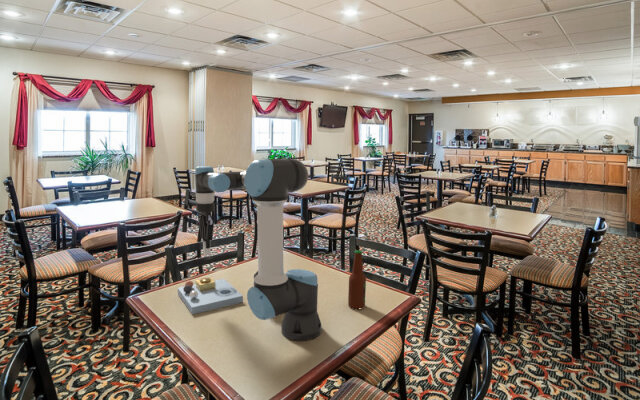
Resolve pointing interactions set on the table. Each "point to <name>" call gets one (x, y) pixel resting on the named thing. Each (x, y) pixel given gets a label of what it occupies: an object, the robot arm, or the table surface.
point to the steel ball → (193, 295)
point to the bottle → (357, 283)
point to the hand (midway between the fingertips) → (207, 254)
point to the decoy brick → (189, 283)
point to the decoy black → (187, 289)
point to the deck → (211, 297)
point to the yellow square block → (205, 284)
